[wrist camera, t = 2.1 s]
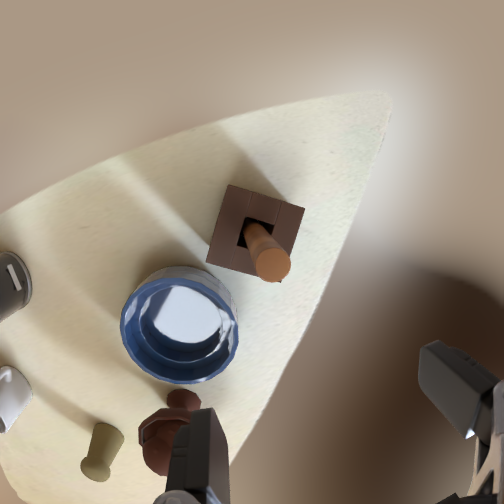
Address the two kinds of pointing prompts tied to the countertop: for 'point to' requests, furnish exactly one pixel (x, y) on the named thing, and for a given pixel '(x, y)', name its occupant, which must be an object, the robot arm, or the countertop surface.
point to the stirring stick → (265, 252)
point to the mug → (12, 396)
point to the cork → (101, 452)
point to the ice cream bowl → (166, 429)
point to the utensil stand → (231, 220)
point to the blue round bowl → (180, 325)
